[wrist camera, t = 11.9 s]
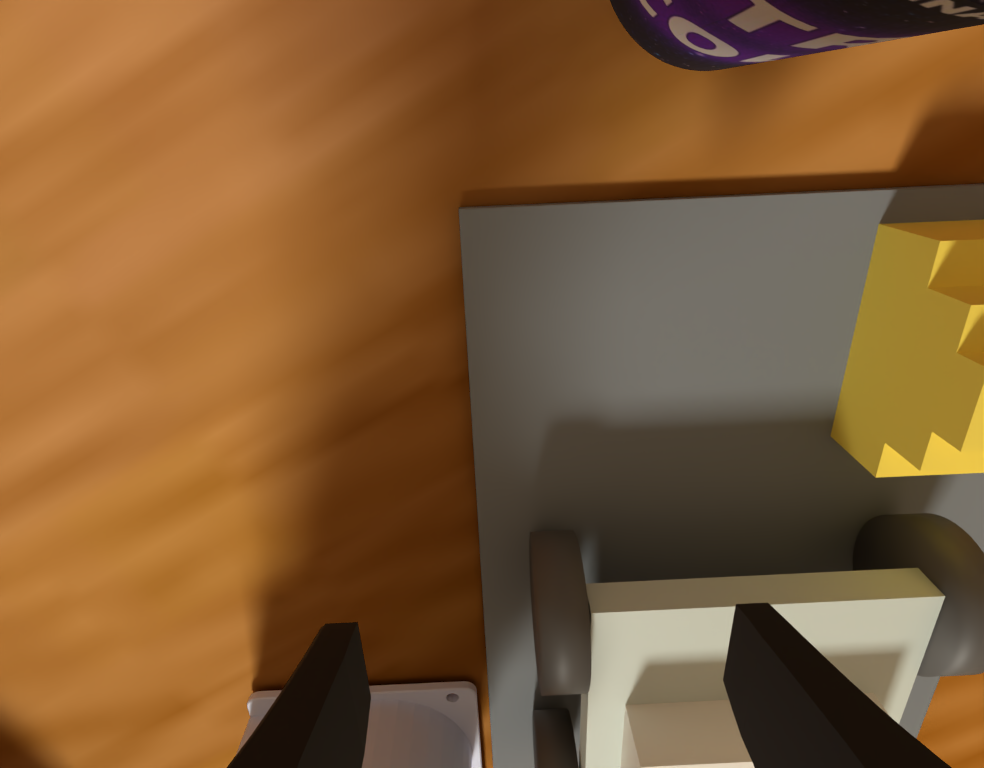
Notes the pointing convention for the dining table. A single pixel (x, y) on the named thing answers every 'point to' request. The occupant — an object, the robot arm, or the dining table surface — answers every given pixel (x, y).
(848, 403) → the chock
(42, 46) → the dining table surface
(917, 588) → the trolley
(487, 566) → the mat
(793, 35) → the beverage can
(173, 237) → the dining table surface
